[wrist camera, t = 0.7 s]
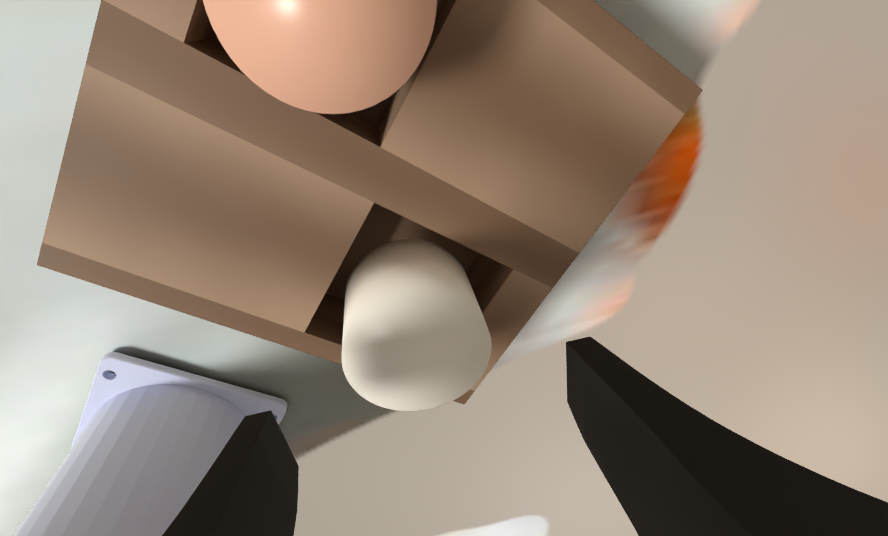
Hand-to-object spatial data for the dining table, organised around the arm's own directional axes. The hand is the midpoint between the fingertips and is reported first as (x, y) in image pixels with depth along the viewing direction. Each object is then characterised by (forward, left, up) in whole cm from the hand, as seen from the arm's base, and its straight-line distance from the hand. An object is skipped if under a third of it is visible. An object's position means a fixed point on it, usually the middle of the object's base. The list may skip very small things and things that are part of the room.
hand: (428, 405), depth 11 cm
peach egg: (+7, +6, -6) cm, 10 cm away
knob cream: (0, 0, -6) cm, 6 cm away
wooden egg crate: (+3, +3, -9) cm, 10 cm away
